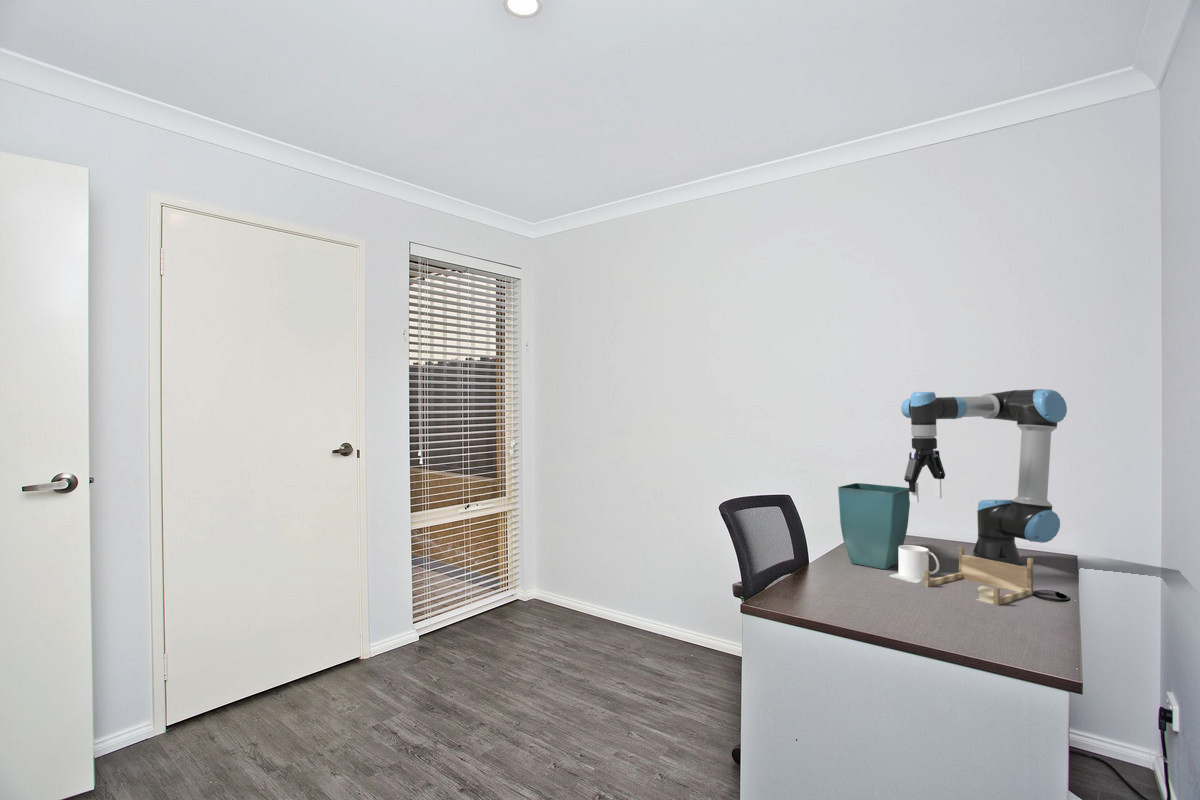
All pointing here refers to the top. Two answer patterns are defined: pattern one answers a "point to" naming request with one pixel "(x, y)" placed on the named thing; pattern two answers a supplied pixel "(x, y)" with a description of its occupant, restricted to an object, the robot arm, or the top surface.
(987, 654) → the top surface
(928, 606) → the top surface
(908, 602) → the top surface
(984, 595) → the offcut
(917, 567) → the mug
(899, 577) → the felt mat
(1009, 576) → the frame
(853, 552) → the flower pot
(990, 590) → the offcut
